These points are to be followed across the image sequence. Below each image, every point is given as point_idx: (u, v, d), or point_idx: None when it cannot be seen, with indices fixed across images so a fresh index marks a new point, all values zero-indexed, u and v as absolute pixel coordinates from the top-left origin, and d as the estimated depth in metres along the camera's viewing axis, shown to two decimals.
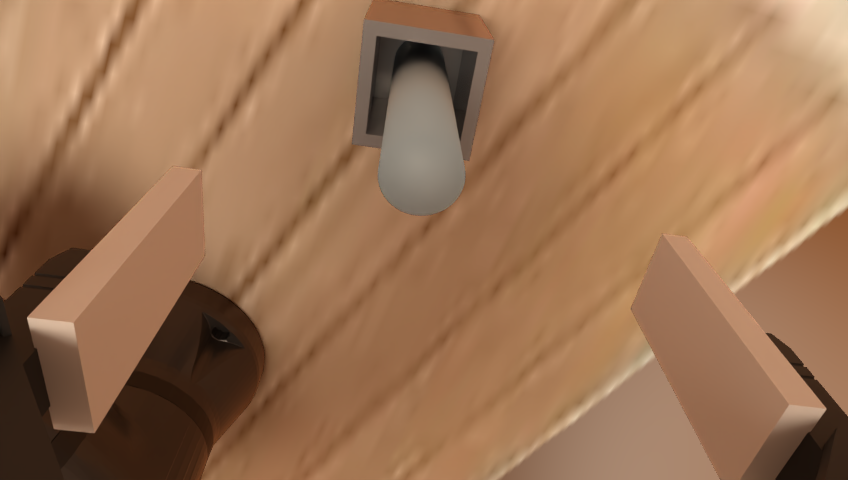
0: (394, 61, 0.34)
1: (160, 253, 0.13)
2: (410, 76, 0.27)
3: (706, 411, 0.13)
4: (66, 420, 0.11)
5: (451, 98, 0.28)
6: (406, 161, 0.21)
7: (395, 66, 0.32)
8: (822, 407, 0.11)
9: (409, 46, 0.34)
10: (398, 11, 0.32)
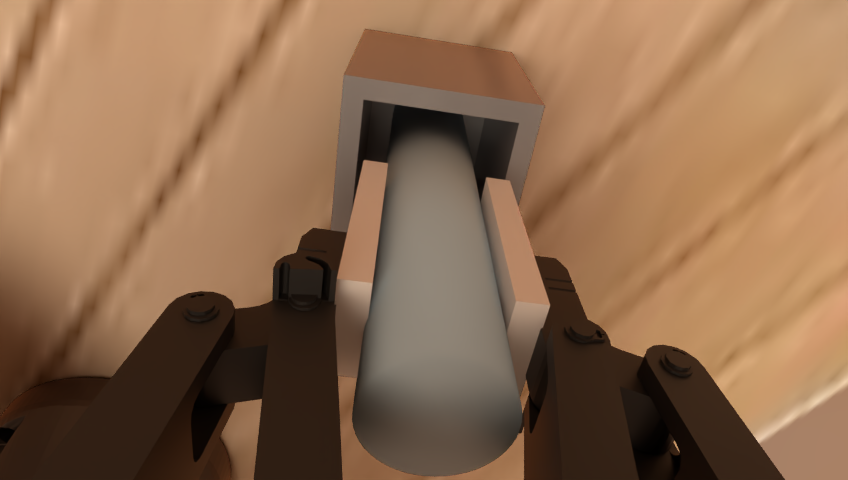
0: (392, 120, 0.24)
1: None
2: (415, 169, 0.17)
3: None
4: (340, 366, 0.13)
5: (479, 200, 0.18)
6: (407, 397, 0.10)
7: (393, 134, 0.22)
8: (546, 303, 0.12)
9: None
10: (398, 53, 0.22)
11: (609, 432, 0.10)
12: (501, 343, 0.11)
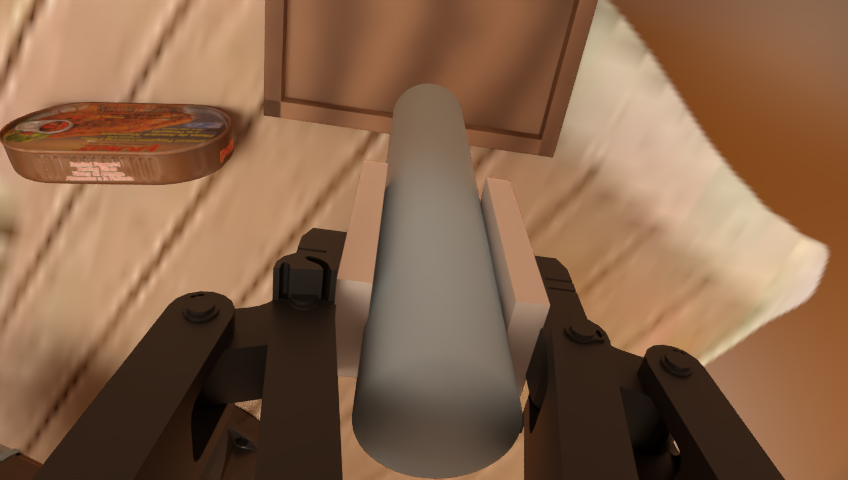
0: (392, 120, 0.24)
1: None
2: (415, 170, 0.17)
3: None
4: (340, 366, 0.13)
5: (479, 201, 0.18)
6: (406, 399, 0.10)
7: (393, 135, 0.22)
8: (546, 304, 0.12)
9: (414, 101, 0.24)
10: None
11: (609, 432, 0.10)
12: (501, 345, 0.11)
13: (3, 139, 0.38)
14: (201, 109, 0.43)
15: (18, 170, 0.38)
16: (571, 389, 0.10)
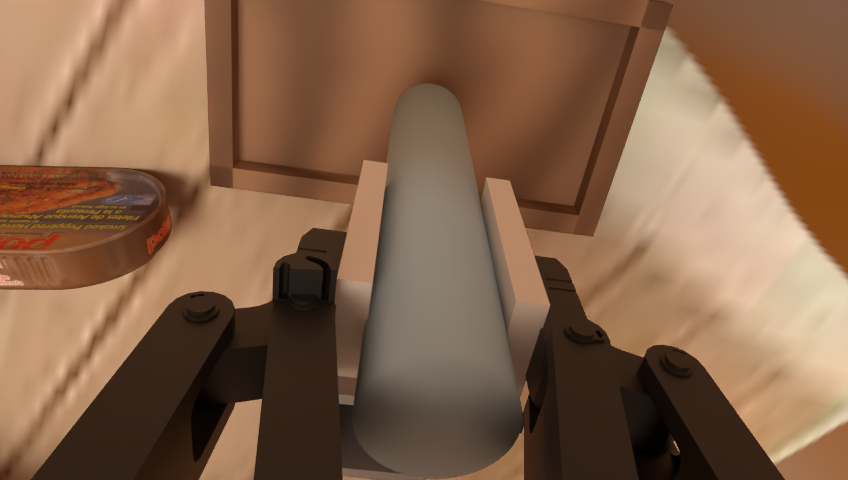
0: (392, 120, 0.24)
1: None
2: (415, 169, 0.17)
3: None
4: (340, 366, 0.13)
5: (479, 201, 0.18)
6: (407, 399, 0.10)
7: (393, 134, 0.22)
8: (546, 304, 0.12)
9: (414, 101, 0.24)
10: None
11: (609, 432, 0.10)
12: (501, 345, 0.11)
13: None
14: (130, 174, 0.33)
15: None
16: (571, 389, 0.10)
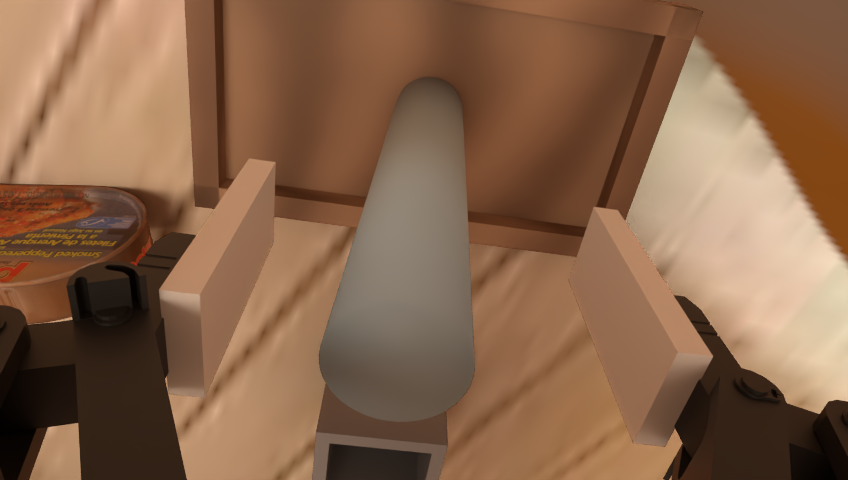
0: None
1: (248, 237, 0.14)
2: (403, 150, 0.18)
3: (620, 367, 0.14)
4: (181, 385, 0.12)
5: (464, 182, 0.19)
6: (367, 342, 0.11)
7: (391, 122, 0.23)
8: (708, 354, 0.12)
9: (413, 92, 0.25)
10: None
11: None
12: (459, 298, 0.12)
13: None
14: (109, 193, 0.30)
15: None
16: (732, 439, 0.10)
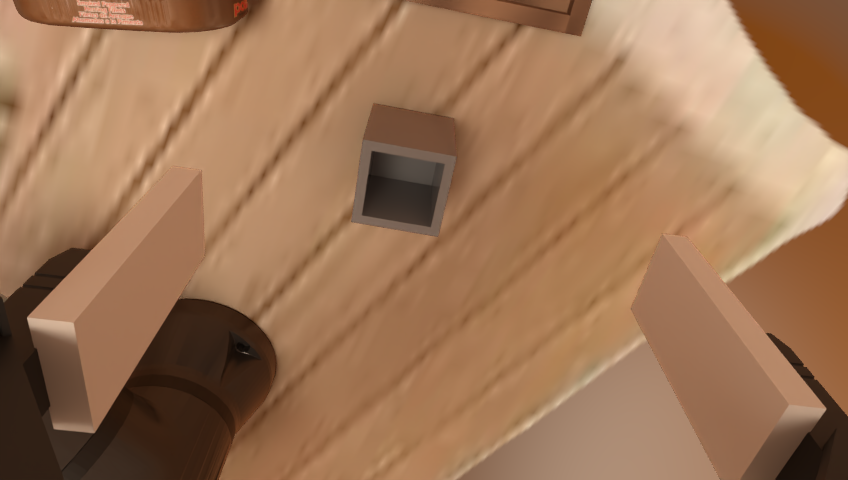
0: None
1: (160, 253, 0.13)
2: None
3: (706, 411, 0.13)
4: (67, 420, 0.11)
5: None
6: None
7: None
8: (821, 407, 0.11)
9: None
10: (390, 123, 0.43)
11: None
12: None
13: None
14: None
15: (22, 10, 0.36)
16: None
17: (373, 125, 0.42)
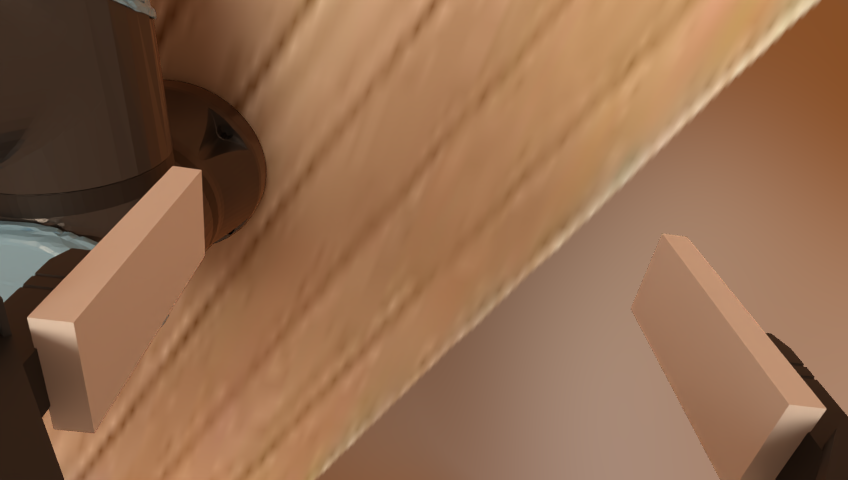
0: None
1: (160, 253, 0.13)
2: None
3: (706, 411, 0.13)
4: (66, 420, 0.11)
5: None
6: None
7: None
8: (822, 407, 0.11)
9: None
10: None
11: None
12: None
13: None
14: None
15: None
16: None
17: None
